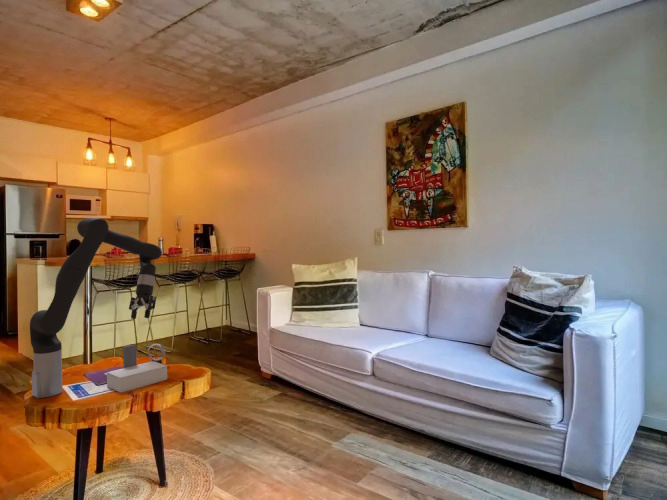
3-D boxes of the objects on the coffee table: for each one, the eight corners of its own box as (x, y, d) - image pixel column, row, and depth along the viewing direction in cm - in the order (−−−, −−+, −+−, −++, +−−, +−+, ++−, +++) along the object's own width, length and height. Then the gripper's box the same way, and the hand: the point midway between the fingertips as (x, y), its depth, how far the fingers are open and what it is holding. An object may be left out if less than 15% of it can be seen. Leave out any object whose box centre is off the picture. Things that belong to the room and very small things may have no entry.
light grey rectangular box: (120, 392, 162) (120, 377, 162) (107, 386, 170) (106, 372, 170) (167, 379, 178) (167, 365, 178) (153, 374, 186) (153, 361, 186)
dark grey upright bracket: (121, 389, 164) (120, 354, 163) (107, 383, 172) (106, 349, 171) (164, 377, 178) (164, 345, 178) (149, 372, 186) (149, 341, 186)
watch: (166, 367, 196) (165, 344, 196) (147, 369, 193) (147, 346, 193) (165, 363, 202) (165, 341, 201) (147, 366, 198) (147, 343, 198)
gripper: (128, 284, 198) (122, 318, 193) (150, 282, 192) (144, 316, 187) (140, 287, 204) (135, 320, 199) (162, 285, 199) (157, 318, 194)
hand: (139, 318), depth 193 cm, fingers open, 8 cm apart
